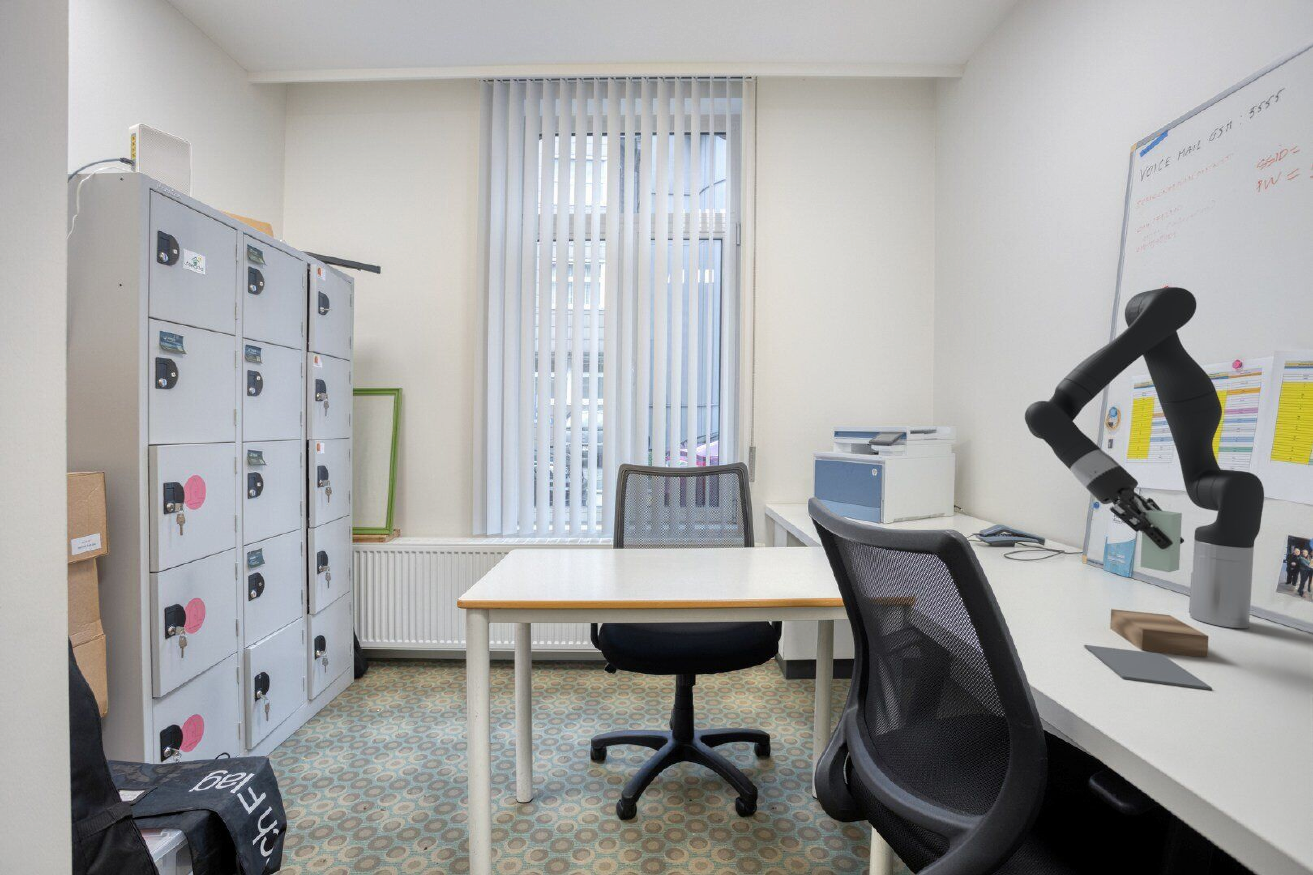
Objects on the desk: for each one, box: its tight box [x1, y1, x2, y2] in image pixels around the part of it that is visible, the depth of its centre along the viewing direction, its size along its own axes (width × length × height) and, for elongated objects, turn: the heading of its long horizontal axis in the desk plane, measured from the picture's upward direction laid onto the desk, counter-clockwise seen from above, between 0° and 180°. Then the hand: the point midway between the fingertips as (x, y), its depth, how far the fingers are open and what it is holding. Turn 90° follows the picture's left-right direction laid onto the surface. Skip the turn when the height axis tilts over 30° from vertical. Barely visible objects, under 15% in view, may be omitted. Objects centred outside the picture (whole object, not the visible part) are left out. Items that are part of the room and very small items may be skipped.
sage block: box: [1140, 510, 1183, 573], centre depth 110 cm, size 4×4×11 cm
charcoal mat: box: [1083, 644, 1213, 691], centre depth 99 cm, size 14×12×1 cm
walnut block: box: [1109, 608, 1209, 659], centre depth 111 cm, size 12×10×4 cm
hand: (1173, 545), depth 109 cm, fingers closed on sage block, 4 cm apart
